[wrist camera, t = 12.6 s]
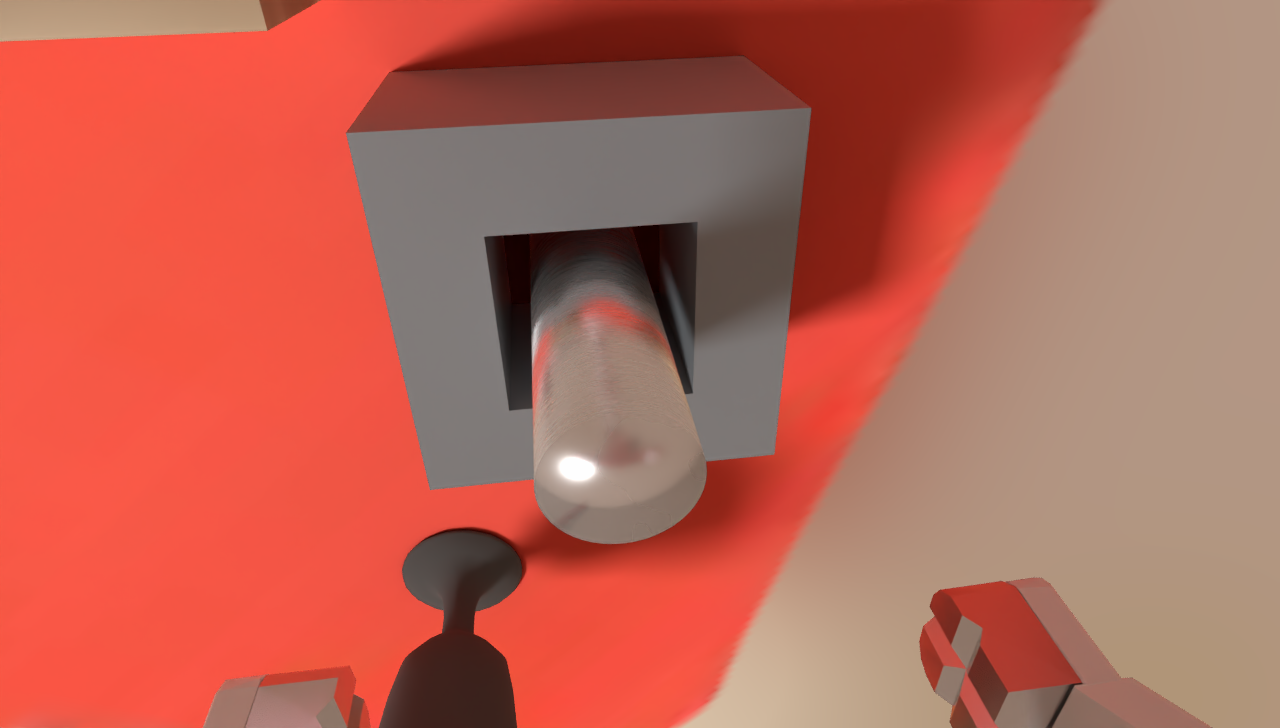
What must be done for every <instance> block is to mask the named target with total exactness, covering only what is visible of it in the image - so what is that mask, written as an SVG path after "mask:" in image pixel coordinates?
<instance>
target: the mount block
mask: <svg viewBox="0 0 1280 728" xmlns="http://www.w3.org/2000/svg"><path fill="white" fill-rule="evenodd" d="M319 1H320V0H0V41H23V40H48V39H73V38H98V37H123V36H148V35H173V34H198V33H223V32H248V31H268V30H270V29H271V28H273V27H275V26H277V25H278V24H280V23H282V22H284V21H285V20H287V19H289V18H291V17H292V16H294V15H296V14H298V13H299V12H301V11H303V10H305V9H306V8H308V7H310V6H312V5H313V4H315V3H317V2H319Z"/></svg>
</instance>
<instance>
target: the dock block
mask: <svg viewBox="0 0 1280 728" xmlns="http://www.w3.org/2000/svg"><path fill="white" fill-rule="evenodd" d="M810 117H811V107H810V106H808V105H807V104H806V103H804V102H803V101H802V100H801V99H799V98H798V97H797V96H795V95H794V94H793V93H792V92H790V91H789V90H788V89H786V88H785V87H784V86H782V85H781V84H780V83H779V82H777V81H776V80H775V79H773V78H772V77H771V76H770V75H768V74H767V73H766V72H764V71H763V70H762V69H761V68H759V67H758V66H757V65H755V64H754V63H753V62H751V61H750V60H749V59H748V58H746V57H745V56H724V57H703V58H681V59H659V60H638V61H616V62H594V63H573V64H551V65H529V66H508V67H486V68H464V69H443V70H421V71H400V72H389V73H388V75H387V76H386V78H385V79H384V80H383V82H382V83H381V85H380V86H379V88H378V89H377V90H376V92H375V93H374V95H373V96H372V97H371V99H370V100H369V102H368V103H367V104H366V106H365V107H364V109H363V110H362V111H361V113H360V114H359V116H358V117H357V118H356V120H355V121H354V123H353V124H352V125H351V127H350V128H349V130H348V131H347V133H346V135H347V139H348V143H349V148H350V152H351V156H352V160H353V165H354V169H355V173H356V177H357V182H358V186H359V190H360V194H361V199H362V203H363V207H364V211H365V215H366V220H367V224H368V228H369V232H370V237H371V241H372V245H373V249H374V254H375V258H376V262H377V266H378V271H379V275H380V279H381V283H382V288H383V292H384V296H385V300H386V305H387V309H388V313H389V317H390V322H391V326H392V330H393V334H394V339H395V343H396V347H397V351H398V356H399V360H400V364H401V368H402V372H403V377H404V381H405V385H406V389H407V394H408V398H409V402H410V406H411V411H412V415H413V419H414V423H415V428H416V432H417V436H418V440H419V445H420V449H421V453H422V457H423V462H424V466H425V470H426V474H427V479H428V483H429V487H430V490H434V489H444V488H453V487H463V486H473V485H483V484H492V483H502V482H512V481H522V480H531V479H534V455H533V398H532V342H531V303H522V304H512V301H511V293H510V285H509V278H508V270H507V262H506V254H505V247H504V239H503V235H515V234H530V233H544V232H558V231H573V230H587V229H602V228H616V227H631V226H645V225H659V293H653V295H654V298H655V301H656V305H657V308H658V311H659V314H660V317H661V320H662V323H663V327H664V330H665V333H666V336H667V339H668V342H669V346H670V349H671V352H672V355H673V358H674V361H675V365H676V368H677V371H678V374H679V377H680V380H681V383H682V387H683V390H684V393H685V396H686V399H687V402H688V406H689V409H690V412H691V415H692V418H693V421H694V425H695V428H696V431H697V434H698V437H699V440H700V443H701V447H702V450H703V453H704V456H705V460H706V461H716V460H726V459H735V458H745V457H755V456H765V455H774V452H775V443H776V434H777V424H778V415H779V406H780V396H781V387H782V378H783V368H784V359H785V350H786V341H787V331H788V322H789V313H790V303H791V294H792V285H793V275H794V266H795V257H796V247H797V238H798V229H799V219H800V210H801V201H802V191H803V182H804V173H805V164H806V154H807V145H808V136H809V126H810Z"/></svg>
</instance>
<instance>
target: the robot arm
mask: <svg viewBox="0 0 1280 728" xmlns="http://www.w3.org/2000/svg"><path fill="white" fill-rule="evenodd" d="M930 608H931V610H932V612H933V613H934V615H935V616H934V617H933V618H932V619H931V620H930V621H929V622H927V623H926V624H925V625H924V626H923V629H922V634H921V637H920V641H919V642H920V652H921V660H922V663H923V666H924V670H925V673H926V675H927V678H928V680H929V682H930V684H931V686H932V688H933V690H934V692H935V693H936V694H938V695H939V696H940V697H942V698H943V699H944V700H946V701H947V702H948V703H950V704H951V705H952V711H951V717H950V724H951V726H952V728H1212V727H1210V726H1209V725H1207V724H1206V723H1204V722H1202V721H1201V720H1199V719H1198V718H1196V717H1194V716H1193V715H1191V714H1189V713H1188V712H1186V711H1185V710H1183V709H1181V708H1180V707H1178V706H1177V705H1175V704H1173V703H1172V702H1170V701H1169V700H1167V699H1165V698H1164V697H1162V696H1161V695H1159V694H1157V693H1156V692H1154V691H1153V690H1151V689H1149V688H1148V687H1146V686H1144V685H1143V684H1141V683H1140V682H1138V681H1137V680H1135V679H1133V678H1121V677H1120V676H1119V674H1118V673H1117V672H1116V671H1115V669H1114V668H1113V666H1112V665H1111V664H1110V663H1109V661H1108V660H1107V659H1106V657H1105V656H1104V655H1103V653H1102V652H1101V651H1100V649H1099V648H1098V647H1097V645H1096V644H1095V643H1094V641H1093V640H1092V639H1091V638H1090V636H1089V635H1088V634H1087V632H1086V631H1085V629H1084V628H1083V627H1082V625H1081V624H1080V623H1079V621H1078V620H1077V619H1076V617H1075V616H1074V615H1073V613H1072V612H1071V611H1070V610H1069V608H1068V607H1067V605H1066V604H1065V603H1064V601H1063V600H1062V599H1061V598H1060V596H1059V595H1058V594H1057V592H1056V591H1055V589H1054V588H1053V587H1052V586H1051V584H1050V583H1048V582H1047V581H1045V580H1044V579H1043V578H1027V579H1020V580H1014V581H1006V582H1003V581H998V582H991V583H984V584H977V585H971V586H964V587H956V588H950V589H943V590H939V591H938V592H937V593H935V594H934V595H933V598H932V601H931V604H930ZM355 684H356V678H355V676H354V674H353V672H352V670H351V668H350V666H342V667H333V668H324V669H315V670H306V671H297V672H289V673H280V674H271V675H269V674H267V675H259V676H251V677H243V678H236V679H228V680H225V682H224V683H223V684H222V686H221V687H220V688H219V690H218V691H217V693H216V694H215V696H214V699H213V702H212V704H211V707H210V710H209V712H208V715H207V718H206V720H205V723H204V726H203V728H371V726H370V719H369V713H368V709H367V706H366V703H365V701H364V699H362V698H360V697H358V696H356V695H354V689H355Z"/></svg>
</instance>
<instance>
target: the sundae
mask: <svg viewBox="0 0 1280 728" xmlns="http://www.w3.org/2000/svg"><path fill="white" fill-rule="evenodd" d="M402 573H403V579H404V582H405V585H406V587H407V589H408V590H409V591H410V592H411V594H412V595H414V596H415V597H416V598H417V599H418V600H420V601H422V602H424V603H425V604H427V605H429V606H432V607H434V608H436V609H440V610H444V622H443V630H442V634H439V635H437V636H435V637H432V638H430V639H429V640H427V641H426V642H425V643H423V644H422V645H421V646H419V647H418V648H416V649H415V650H414V651H412V652H411V653H410V654H409V655H408V656H407V657H406V658H405V660H404V661H403V663H402V665H401V667H400V669H399V672H398V674H397V677H396V679H395V682H394V684H393V686H392V689H391V691H390V694H389V696H388V699H387V702H386V706H385V709H384V712H383V716H382V719H381V722H380V726H379V728H517V722H516V713H515V704H514V695H513V688H512V683H511V679H510V674H509V669H508V665H507V661H506V659H505V657H504V656H503V655H502V654H501V653H500V652H499V651H498V650H497V649H496V648H494V647H493V646H492V645H491V644H490V643H489V642H487V641H486V640H485V639H483V638H481V637H479V636H477V635H474V616H475V611H480V610H483V609H486V608H489V607H491V606H494V605H496V604H498V603H499V602H501V601H502V600H503V599H505V598H506V597H508V596H509V595H510V594H511V593H512V592H513V591H514V590H515V589H516V587H517V585H518V584H519V582H520V579H521V577H522V565H521V560H520V558H519V557H518V555H517V553H516V552H515V551H514V550H513V548H512V547H511V546H510V545H508V544H507V543H505V542H504V541H502V540H501V539H499V538H497V537H495V536H493V535H490V534H486V533H482V532H477V531H471V530H459V531H450V532H444V533H441V534H438V535H435V536H433V537H430V538H428V539H426V540H424V541H422V542H421V543H419V544H418V545H417V546H416V547H414V548H413V549H412V550H411V551H410V553H409V554H408V555H407V557H406V559H405V561H404V565H403V568H402Z"/></svg>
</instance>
